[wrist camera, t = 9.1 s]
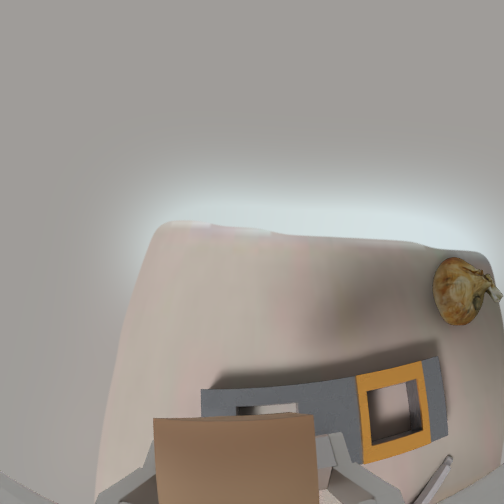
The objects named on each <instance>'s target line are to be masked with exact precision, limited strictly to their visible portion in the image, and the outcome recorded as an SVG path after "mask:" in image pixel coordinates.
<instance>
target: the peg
mask: <svg viewBox="0 0 504 504" xmlns="http://www.w3.org/2000/svg"><path fill="white" fill-rule="evenodd" d="M153 427H154V452H155V468H156V481H157V491H158V501H159V504H319V487H318V469H317V454H316V441H315V428H314V417H313V415H311V414H301V413H292V412H286V413H276V414H263V415H244V416H215V417H199V418H153Z"/></svg>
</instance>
